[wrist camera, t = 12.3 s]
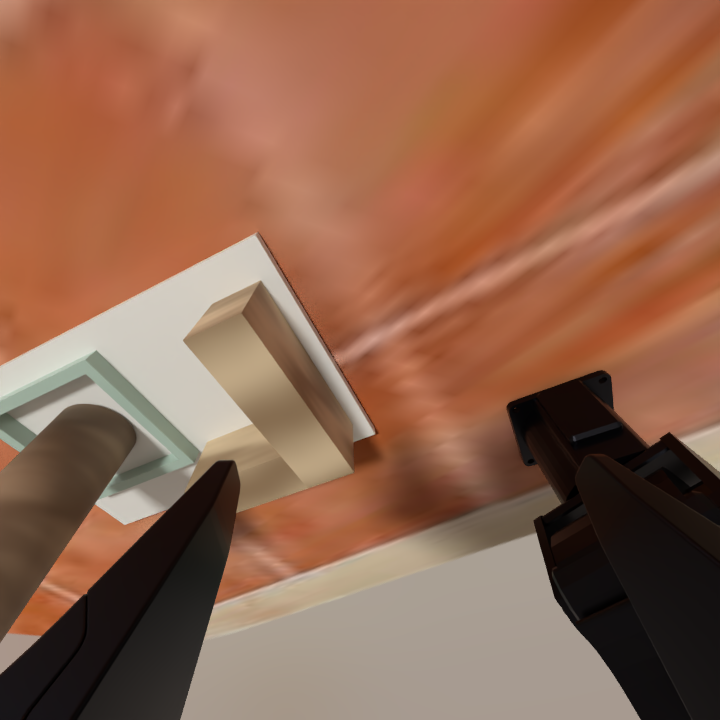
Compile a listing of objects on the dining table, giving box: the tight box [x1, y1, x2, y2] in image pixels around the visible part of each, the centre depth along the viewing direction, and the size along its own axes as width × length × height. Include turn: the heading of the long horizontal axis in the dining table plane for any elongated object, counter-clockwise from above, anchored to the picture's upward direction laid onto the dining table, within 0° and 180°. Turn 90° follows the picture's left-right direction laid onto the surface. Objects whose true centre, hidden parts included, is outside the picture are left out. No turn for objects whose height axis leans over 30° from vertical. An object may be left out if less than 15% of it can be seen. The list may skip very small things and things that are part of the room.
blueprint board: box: [0, 232, 375, 525], centre depth 22 cm, size 14×22×2 cm, turn 115°
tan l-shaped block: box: [183, 280, 354, 513], centre depth 20 cm, size 11×10×4 cm
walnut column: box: [0, 404, 136, 642], centre depth 17 cm, size 5×5×12 cm
